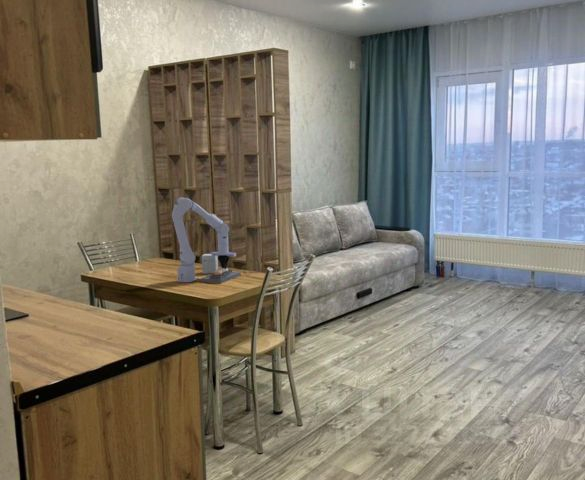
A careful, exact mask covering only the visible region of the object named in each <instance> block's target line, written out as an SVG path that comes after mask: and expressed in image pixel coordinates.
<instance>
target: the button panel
mask: <svg viewBox="0 0 585 480" xmlns="http://www.w3.org/2000/svg"><path fill="white" fill-rule="evenodd" d="M227 269H228V271H225V273H222V275H220V276H214V273H213V274H208V275H207V276H204V277H200V280H201V281H200V282H201V283H208V282H209V283H210V284H223V282H224V283H226V282H229V281H231V280H234V279H236V278H239V277H240V276H241V275H242V273H241V271H233V269H230V268H227ZM238 276H239V277H238ZM235 277H236V278H235ZM233 278H234V279H233ZM230 279H231V280H230ZM228 280H229V281H228ZM225 281H226V282H225ZM209 283H208V284H209Z"/></svg>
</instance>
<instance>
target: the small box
mask: <svg viewBox="0 0 585 480" xmlns="http://www.w3.org/2000/svg"><path fill="white" fill-rule="evenodd" d="M218 257H219V256H211V253H204V254H202V255H201V265H202V267H201V268H202V275H203V274H208V275H212V273H214V271H217V269H219V260H218Z"/></svg>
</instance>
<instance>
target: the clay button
mask: <svg viewBox="0 0 585 480" xmlns="http://www.w3.org/2000/svg"><path fill="white" fill-rule="evenodd" d="M220 275H222V271H214V276H220Z"/></svg>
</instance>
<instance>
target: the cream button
mask: <svg viewBox="0 0 585 480" xmlns="http://www.w3.org/2000/svg"><path fill="white" fill-rule="evenodd" d="M217 271H222V273H225V269H224V268H222V267H221V268H219V267H218V269H217Z"/></svg>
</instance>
